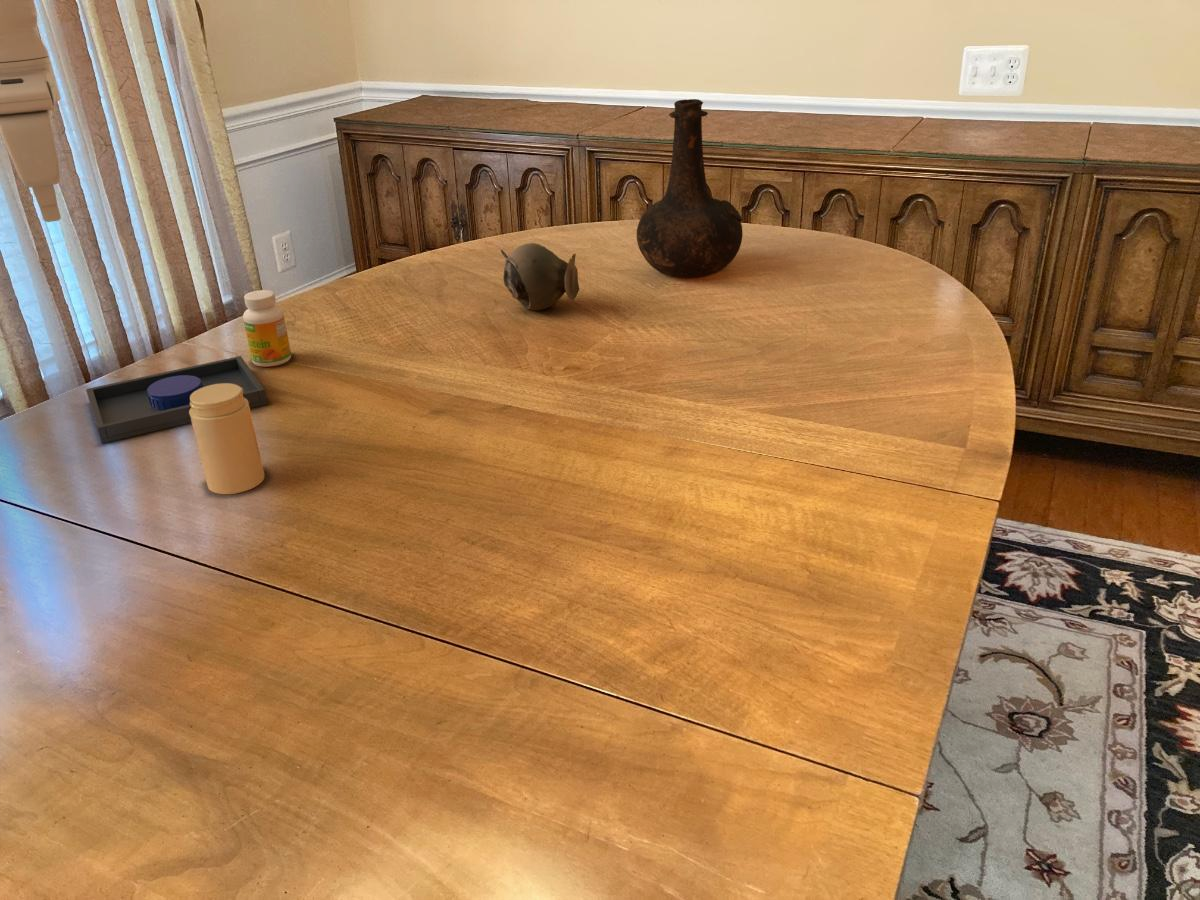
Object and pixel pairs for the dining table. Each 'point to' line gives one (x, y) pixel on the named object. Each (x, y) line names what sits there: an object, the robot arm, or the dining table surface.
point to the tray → (132, 414)
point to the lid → (173, 391)
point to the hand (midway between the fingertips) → (49, 211)
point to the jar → (226, 438)
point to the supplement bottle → (266, 329)
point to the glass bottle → (689, 210)
